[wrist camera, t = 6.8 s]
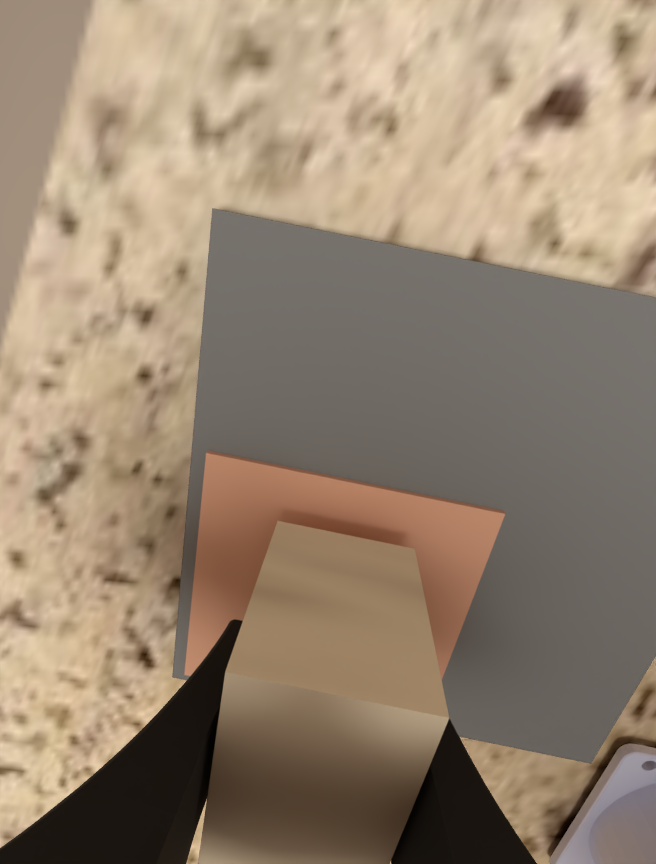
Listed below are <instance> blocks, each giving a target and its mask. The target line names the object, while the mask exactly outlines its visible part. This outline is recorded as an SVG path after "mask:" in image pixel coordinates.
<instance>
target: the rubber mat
mask: <svg viewBox="0 0 656 864" xmlns="http://www.w3.org/2000/svg"><path fill="white" fill-rule="evenodd" d="M277 521H282V522H286V523H291V524H296V525H301V526H306V527H311V528H316V529H321V530H325V531H330V532H335V533H340V534H345V535H350V536H355V537H360V538H364V539H369V540H374V541H379V542H384V543H389V544H394V545H399V546H404V547H408V548H413V549H415V552H416V557H417V562H418V567H419V572H420V577H421V582H422V587H423V591H424V596H425V601H426V606H427V611H428V616H429V621H430V626H431V631H432V636H433V641H434V646H435V650H436V655H437V660H438V665H439V670H440V675H441V680H442V685H443V690H444V695H445V700H446V705H447V710H448V714H449V718H450V720H451V722H452V724H453V726H454V728H455V730H456V732H457V734H458V735H459V737H464V738H469V739H474V740H479V741H484V742H489V743H493V744H498V745H503V746H508V747H513V748H518V749H522V750H527V751H532V752H537V753H542V754H547V755H551V756H556V757H561V758H566V759H571V760H576V761H581V762H585V763H590V764H591V762H592V761H593V759H594V758H595V756H596V754H597V753H598V751H599V749H600V748H601V746H602V744H603V743H604V741H605V739H606V738H607V736H608V734H609V733H610V731H611V729H612V728H613V726H614V724H615V723H616V721H617V719H618V718H619V716H620V714H621V713H622V711H623V709H624V708H625V706H626V705H627V703H628V701H629V700H630V698H631V696H632V695H633V693H634V691H635V690H636V688H637V686H638V685H639V683H640V681H641V680H642V678H643V676H644V675H645V673H646V671H647V670H648V668H649V666H650V665H651V663H652V661H653V660H654V658H655V656H656V298H654V297H649V296H644V295H639V294H634V293H629V292H625V291H620V290H615V289H610V288H605V287H600V286H595V285H590V284H585V283H580V282H575V281H570V280H565V279H560V278H555V277H550V276H545V275H540V274H535V273H530V272H525V271H520V270H515V269H510V268H506V267H501V266H496V265H491V264H486V263H481V262H476V261H471V260H466V259H461V258H456V257H451V256H446V255H441V254H436V253H431V252H426V251H421V250H416V249H411V248H406V247H401V246H396V245H392V244H387V243H382V242H377V241H372V240H367V239H362V238H357V237H352V236H347V235H342V234H337V233H332V232H327V231H322V230H317V229H312V228H307V227H302V226H297V225H292V224H287V223H282V222H278V221H273V220H268V219H263V218H258V217H253V216H248V215H243V214H238V213H233V212H228V211H223V210H218V209H213V208H212V220H211V232H210V243H209V255H208V267H207V278H206V290H205V302H204V313H203V325H202V337H201V349H200V360H199V372H198V384H197V395H196V407H195V419H194V430H193V442H192V454H191V466H190V477H189V489H188V501H187V512H186V524H185V536H184V547H183V559H182V571H181V583H180V594H179V606H178V618H177V629H176V641H175V653H174V664H173V676H172V677H174V678H179V679H183V680H188V679H189V677H190V676H191V675H192V674H193V672H194V671H195V670H196V669H197V667H198V666H199V665H200V664H201V662H202V661H203V660H204V659H205V657H206V656H207V655H208V653H209V652H210V651H211V649H212V648H213V647H214V645H215V644H216V642H217V641H218V639H219V638H220V636H221V635H222V633H223V632H224V630H225V629H226V627H227V625H228V624H229V622H230V621H231V620H233V619H237V620H241V621H243V619H244V616H245V613H246V611H247V608H248V605H249V602H250V599H251V596H252V593H253V590H254V588H255V585H256V582H257V579H258V576H259V573H260V570H261V567H262V564H263V562H264V559H265V556H266V553H267V550H268V547H269V544H270V541H271V539H272V536H273V533H274V530H275V527H276V524H277Z"/></svg>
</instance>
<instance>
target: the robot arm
mask: <svg viewBox="0 0 656 864" xmlns="http://www.w3.org/2000/svg"><path fill="white" fill-rule="evenodd" d="M242 622H243V621H241V620H237V619H233V620H231V621H230V622H229V624H228V625H227V627H226V629H225V630H224V632H223V633H222V635H221V636H220V638H219V639H218V641H217V642H216V644H215V645H214V647H213V648H212V649H211V651H210V652H209V653H208V655H207V656H206V657H205V659H204V660H203V661H202V662H201V664H200V665H199V666H198V667H197V669H196V670H195V671H194V672H193V674H192V675H191V676H190V677H189V679H188V680H187V681H186V682H185V683H184V685H183V686H182V687H181V688H180V689H179V690H178V691H177V692H176V694H175V695H174V696H173V697H172V698H171V699H170V700H169V701H168V703H167V704H166V705H165V706H164V707H163V708H162V709H161V710H160V711H159V712H158V714H157V715H156V716H155V717H154V718H153V719H152V720H151V721H150V722H149V723H148V724H147V725H146V726H145V727H144V728H143V729H142V730H141V731H140V732H139V733H138V734H137V735H136V736H135V737H134V738H133V739H132V740H131V741H130V742H129V743H128V744H127V745H126V746H125V747H124V748H122V749H121V750H120V751H119V752H118V753H117V754H116V755H115V756H114V757H113V758H112V759H110V760H109V761H108V762H107V763H106V764H105V765H104V766H103V767H102V768H101V769H99V770H98V771H97V772H96V773H95V774H94V775H93V776H91V777H90V778H89V779H88V780H87V781H86V782H84V783H83V784H82V785H81V786H80V787H79V788H77V789H76V790H75V791H74V792H72V793H71V794H70V795H69V796H67V797H66V798H65V799H64V800H62V801H61V802H60V803H59V804H58V805H56V806H55V807H54V808H53V809H51V810H50V811H49V812H48V813H46V814H45V815H44V816H43V817H41V818H40V819H39V820H38V821H36V822H35V823H34V824H32V825H31V826H30V827H29V828H27V829H26V830H25V831H23V832H22V833H21V834H19V835H18V836H16V837H15V838H14V839H12V840H11V841H10V842H8V843H7V844H5V845H4V846H3V847H1V848H0V864H186V862H187V858H188V855H189V851H190V848H191V844H192V841H193V837H194V834H195V831H196V828H197V825H198V822H199V819H200V816H201V813H202V810H203V807H204V805H205V802H206V799H207V796H208V789H209V782H210V775H211V768H212V761H213V754H214V747H215V740H216V733H217V726H218V719H219V712H220V705H221V698H222V691H223V684H224V677H225V671H226V668H227V665H228V662H229V660H230V657H231V654H232V651H233V648H234V645H235V642H236V639H237V637H238V634H239V631H240V628H241V625H242ZM549 862H550V864H656V748H653V747H648V746H643V745H638V744H631V743H629V744H625V745H623V746H621V747H620V748H619V749H618V750H617V752H616V753H615V755H614V756H613V758H612V760H611V761H610V763H609V764H608V766H607V767H606V769H605V771H604V772H603V774H602V775H601V777H600V779H599V780H598V782H597V783H596V785H595V787H594V788H593V790H592V791H591V793H590V795H589V796H588V798H587V799H586V801H585V803H584V804H583V806H582V807H581V809H580V811H579V812H578V814H577V815H576V817H575V819H574V820H573V822H572V823H571V825H570V827H569V828H568V830H567V831H566V833H565V835H564V836H563V838H562V839H561V841H560V843H559V844H558V846H557V847H556V849H555V851H554V852H553V854H552V855H551V857H550V860H549ZM391 864H537V863H536V862H535V860H534V859H533V858H532V856H531V855H530V853H529V852H528V850H527V849H526V847H525V846H524V844H523V843H522V841H521V840H520V838H519V837H518V835H517V834H516V832H515V831H514V829H513V828H512V826H511V825H510V823H509V822H508V820H507V819H506V817H505V815H504V814H503V812H502V811H501V809H500V808H499V806H498V804H497V803H496V801H495V800H494V798H493V796H492V795H491V793H490V791H489V790H488V788H487V786H486V785H485V783H484V781H483V779H482V778H481V776H480V774H479V772H478V771H477V769H476V767H475V765H474V764H473V762H472V760H471V758H470V756H469V754H468V753H467V751H466V749H465V747H464V745H463V743H462V741H461V739H460V737H459V735H458V734H457V732H456V730H455V728H454V726H453V724H452V722H451V720H450V718H449V720H448V722H447V725H446V727H445V730H444V732H443V735H442V737H441V740H440V742H439V744H438V747H437V749H436V752H435V754H434V757H433V759H432V761H431V764H430V766H429V769H428V771H427V774H426V776H425V779H424V781H423V783H422V786H421V788H420V791H419V793H418V796H417V798H416V800H415V803H414V805H413V808H412V810H411V813H410V815H409V818H408V820H407V822H406V825H405V827H404V830H403V832H402V835H401V837H400V839H399V842H398V844H397V847H396V849H395V852H394V854H393V857H392V859H391Z"/></svg>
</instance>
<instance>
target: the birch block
mask: <svg viewBox="0 0 656 864" xmlns="http://www.w3.org/2000/svg"><path fill="white" fill-rule="evenodd" d="M448 720H449V714H448V710H447V705H446V700H445V695H444V690H443V685H442V680H441V675H440V670H439V665H438V660H437V655H436V650H435V646H434V641H433V636H432V631H431V626H430V621H429V616H428V611H427V606H426V601H425V596H424V591H423V587H422V582H421V577H420V572H419V567H418V562H417V557H416V552H415V549H413V548H408V547H404V546H399V545H394V544H389V543H384V542H379V541H374V540H369V539H364V538H360V537H355V536H350V535H345V534H340V533H335V532H330V531H325V530H321V529H316V528H311V527H306V526H301V525H296V524H291V523H286V522H282V521H277V524H276V527H275V530H274V533H273V536H272V539H271V541H270V544H269V547H268V550H267V553H266V556H265V559H264V562H263V564H262V567H261V570H260V573H259V576H258V579H257V582H256V585H255V588H254V590H253V593H252V596H251V599H250V602H249V605H248V608H247V611H246V613H245V616H244V619H243V622H242V625H241V628H240V631H239V634H238V637H237V639H236V642H235V645H234V648H233V651H232V654H231V657H230V660H229V662H228V665H227V668H226V671H225V677H224V684H223V691H222V698H221V705H220V712H219V719H218V726H217V733H216V740H215V747H214V754H213V761H212V768H211V775H210V782H209V789H208V796H207V804H206V811H205V818H204V825H203V832H202V839H201V846H200V853H199V860H198V864H390V861H391V859H392V857H393V854H394V852H395V849H396V847H397V844H398V842H399V839H400V837H401V835H402V832H403V830H404V827H405V825H406V822H407V820H408V818H409V815H410V813H411V810H412V808H413V805H414V803H415V800H416V798H417V796H418V793H419V791H420V788H421V786H422V783H423V781H424V779H425V776H426V774H427V771H428V769H429V766H430V764H431V761H432V759H433V757H434V754H435V752H436V749H437V747H438V744H439V742H440V740H441V737H442V735H443V732H444V730H445V727H446V725H447V722H448Z"/></svg>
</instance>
